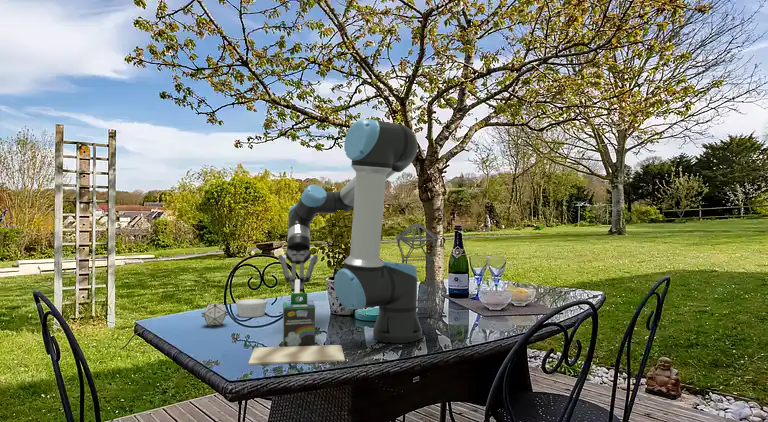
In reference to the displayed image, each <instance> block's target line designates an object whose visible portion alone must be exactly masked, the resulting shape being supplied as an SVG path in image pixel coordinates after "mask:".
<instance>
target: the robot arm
mask: <svg viewBox="0 0 768 422" xmlns="http://www.w3.org/2000/svg"><path fill="white" fill-rule="evenodd" d="M343 145H344V147H343V148H344V152H345V155H346V157H347V158H348V159H349V160H351V168H352V169H353V171H355V177H353V178H352V179H350V181H349V182H348V183H347V184H345V185H344V186H343V187H342V188H341V189H340V190H339V191H337V192H333V191H331V192H330V191H326V190H325V189H324V188H323V187H322V186H319V185H318V184H310V185H308V186H307V187H306V188H305V189H304V190H303V192H302V194H301V196H300V198H299V200H298V202H297V203H295V204H293V205H292V206H291V207H290V208H289V211H288V216H287V217H288V224H287V227H288V229H287V244H286V245H287V246H286V251H285V254H279V255H278V263H280V265H281V267H282V272H283V276H284V279H285V283H288V284H289V283H290V285H291V286H290V291H291V292H293V293H304V289H305V286H304V284H305V283H309V282H310V280H311V278H312V275H313V271H314V267H315V265H316V264H317V263H318V254H312V251H311V223H312V221H313V220H314V219H315V217H316V215H317V214H333V215H334V214H335V213H336V212H338V211H337V210H344V211H349V210H353V213H352V220H351V221H352V223H351V237H350V249H349V250H350V251H349V256H347V257H346V258H345V259H344V261H343V268H341V269H339V270H337V272H336V273H335V275H334V280H333V287H334V291H335V296H336V298H337V300H338V301H339V303H340V304H341V305H342V306H343V307H344V308H345V309H348V310H364V309H368V308H375V307H378V314H377V317H376V321H375V322H374V326H373V329H372V337H373V339H374V338H375V339H374V340H376V339H377V341H378V340H379V341H378V342H382V341H384V342H383V343H388V342H391V343H390V344H409V343H408V342H410V343H415V342H414V341H416V342H418V341H417V340H419V339H421V338H423V330H422V326H421V323H420V320H419V319H420V318H418V317H419V316H418V313H417V312H418V310H417V309H418V308H417V306H418V305H417V304H418V303H417V302H418V301H417V300H418V297H417V296H418V274H417V273H418V272H417V267H416V266H415V265H413V264H411V263H410V264H409V263H407V264H405V263H404V264H403V263H402V262H394V261H385V260H382V259H381V257H380V254H381V244H382V243H381V241H382V228H383V217H384V205H385V204H384V202H385V193H386V181H387V180H388V179H389V178H391V176H393V175H394V174H395V173H401V172H403V171H404V170H405V169H407V168H408V167H409V166H410V165H411V163H413V161H414V159H415V158H416V157H417V156H416V155H417V153H418V147H419V146H418V140H417V136H416V135H415V133H414V132H413V131H412V129H410V128H409V127H408V126H406V125H403V124H400V123H393V122H387V121H382V120H377V119H369V118H367V119H366V118H362V119H357V120H356V121H355V122H353V123H352V125H351V126H350V127H349V128H348V131H347V132H346V135H345V139H344V144H343ZM335 215H336V214H335ZM310 254H311V255H310ZM287 261H289V263H290V264H291V276H290V273H289V270H288V265H287ZM308 261H309V263H308V268H307V271H306V273H305V264H306V263H307V262H308ZM297 265H299V279H296V277H297V276H296V273H297ZM300 298H301V297H296V299H295V300H296V301H301V300H300ZM421 340H422V339H421ZM419 341H420V340H419Z"/></svg>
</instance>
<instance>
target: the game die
mask: <svg viewBox="0 0 768 422" xmlns="http://www.w3.org/2000/svg"><path fill="white" fill-rule="evenodd" d="M206 304H207V305H206V308H205V310H204V312H201V317H202V318H203V317H204V319H205V323H206V326H205V327H206V328H208V327H209V326H221V327H224V325H223V322H224V320H225V318H226V316H227V317H228V315H229V311H227V310H226V309H225V307H224V301H222V302H221V303H209V301H207V302H206Z"/></svg>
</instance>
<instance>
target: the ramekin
mask: <svg viewBox="0 0 768 422" xmlns="http://www.w3.org/2000/svg"><path fill="white" fill-rule="evenodd" d="M267 303H268V301H267V300H266V299H262V298H249V299H247V298H246V299H241V300H240V299H239V300H237V301H236V302H235V305H236V311H237V315H238V316H239V317H240V318H257V317H260V318H261V317H262V316H264V315H265V314H266V309H267Z"/></svg>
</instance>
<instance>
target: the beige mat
mask: <svg viewBox="0 0 768 422" xmlns="http://www.w3.org/2000/svg"><path fill="white" fill-rule="evenodd" d="M248 360H249V361H248V366H254V365H255V366H257V365H259V366H260V365H281V364H283V365H284V364H306V363H307V364H309V363H311V364H313V363H333V362H335V363H338V362H337V361H341V362H345V361H346V359H345V355H344V351H343V346H342V345H341V344H333V345H332V344H330V345H329V344H327V345H326V344H325V345H323V344H322V345H315V346H291V347H284V346H271V347H270V346H263V347H254V348H253V350H252V353H251V355H250V358H249V359H248Z"/></svg>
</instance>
